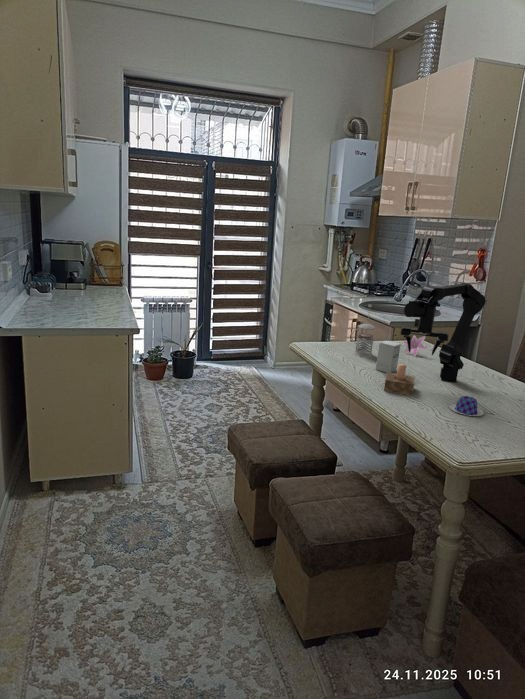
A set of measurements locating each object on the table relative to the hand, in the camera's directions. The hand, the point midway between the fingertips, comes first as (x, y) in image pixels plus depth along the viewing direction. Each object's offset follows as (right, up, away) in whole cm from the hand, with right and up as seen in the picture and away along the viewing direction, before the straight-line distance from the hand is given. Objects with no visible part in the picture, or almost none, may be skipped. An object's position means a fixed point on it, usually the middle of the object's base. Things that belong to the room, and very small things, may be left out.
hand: (420, 353), depth 224 cm
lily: (+11, -1, +50) cm, 51 cm away
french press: (-17, -1, +41) cm, 45 cm away
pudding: (+9, -22, -25) cm, 34 cm away
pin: (-11, -13, -7) cm, 19 cm away
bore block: (-11, -14, -7) cm, 20 cm away
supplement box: (-11, -8, +18) cm, 22 cm away
